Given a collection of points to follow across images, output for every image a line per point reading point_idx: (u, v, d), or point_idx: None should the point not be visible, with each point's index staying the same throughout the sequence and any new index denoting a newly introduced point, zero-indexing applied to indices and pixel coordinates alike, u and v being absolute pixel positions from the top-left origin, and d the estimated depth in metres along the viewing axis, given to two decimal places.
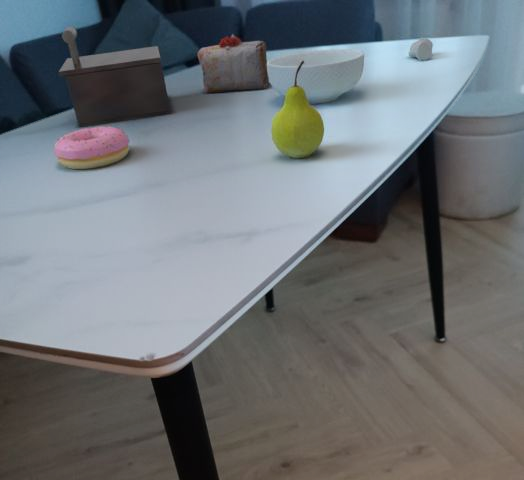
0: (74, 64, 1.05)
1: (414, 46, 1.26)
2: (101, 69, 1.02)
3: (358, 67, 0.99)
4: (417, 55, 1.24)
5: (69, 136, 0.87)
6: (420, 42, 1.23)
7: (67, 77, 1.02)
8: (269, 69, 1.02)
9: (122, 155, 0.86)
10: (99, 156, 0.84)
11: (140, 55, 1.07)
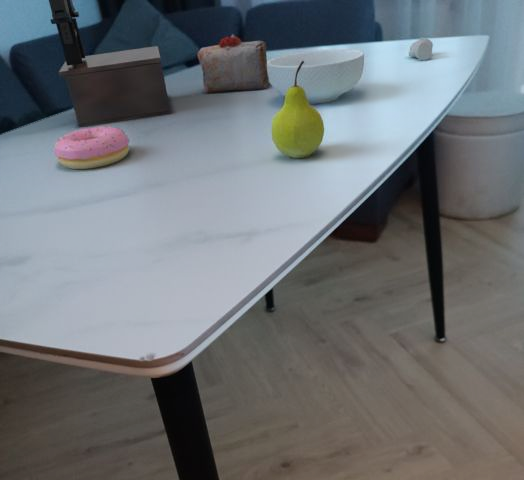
0: None
1: (414, 46, 1.26)
2: (101, 69, 1.02)
3: (358, 67, 0.99)
4: (417, 55, 1.24)
5: (69, 136, 0.87)
6: (420, 42, 1.23)
7: (67, 77, 1.02)
8: (269, 69, 1.02)
9: (122, 155, 0.86)
10: (99, 156, 0.84)
11: (140, 55, 1.07)
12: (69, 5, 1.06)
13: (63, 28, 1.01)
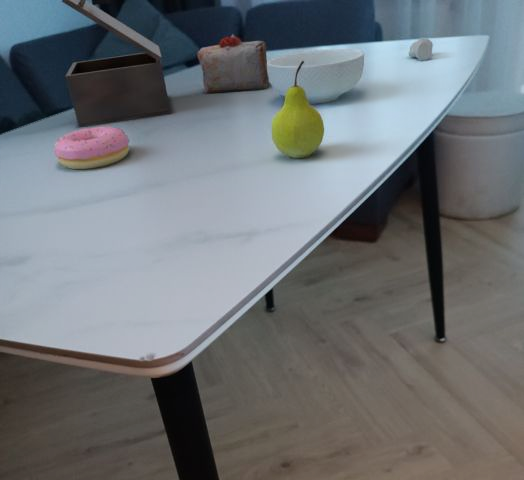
0: (80, 2, 1.01)
1: (414, 46, 1.26)
2: (104, 26, 0.99)
3: (358, 67, 0.99)
4: (417, 55, 1.24)
5: (69, 136, 0.87)
6: (420, 42, 1.23)
7: (67, 77, 1.02)
8: (269, 69, 1.02)
9: (122, 155, 0.86)
10: (99, 156, 0.84)
11: (143, 42, 1.06)
12: None
13: None
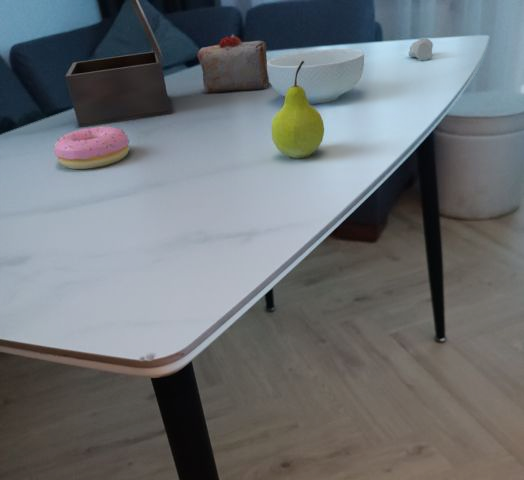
0: None
1: (414, 46, 1.26)
2: None
3: (358, 67, 0.99)
4: (417, 55, 1.24)
5: (69, 136, 0.87)
6: (420, 42, 1.23)
7: (67, 77, 1.02)
8: (269, 69, 1.02)
9: (122, 155, 0.86)
10: (99, 156, 0.84)
11: (152, 34, 1.06)
12: None
13: None
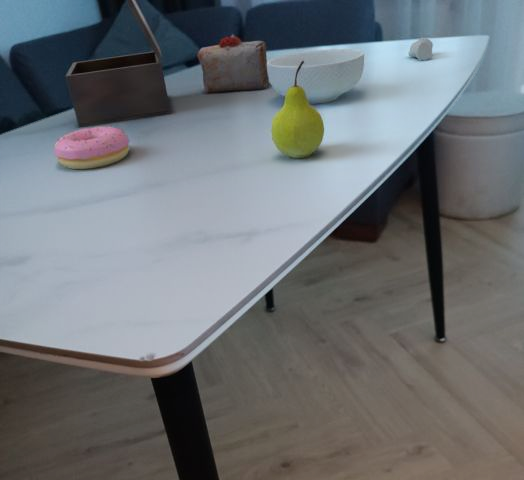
0: None
1: (414, 46, 1.26)
2: None
3: (358, 67, 0.99)
4: (417, 55, 1.24)
5: (69, 136, 0.87)
6: (420, 42, 1.23)
7: (67, 77, 1.02)
8: (269, 69, 1.02)
9: (122, 155, 0.86)
10: (99, 156, 0.84)
11: None
12: None
13: None
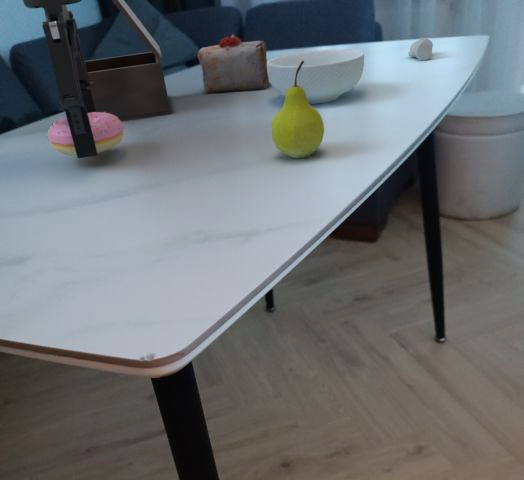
0: None
1: (414, 46, 1.26)
2: (117, 5, 0.98)
3: (358, 67, 0.99)
4: (417, 55, 1.24)
5: (63, 121, 0.86)
6: (420, 42, 1.23)
7: None
8: (269, 69, 1.02)
9: (116, 141, 0.85)
10: None
11: (148, 36, 1.06)
12: (84, 77, 0.88)
13: (74, 115, 0.78)
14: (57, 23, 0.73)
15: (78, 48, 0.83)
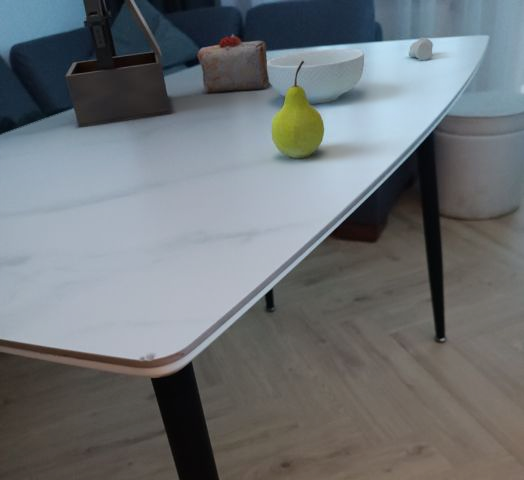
0: None
1: (414, 46, 1.26)
2: None
3: (358, 67, 0.99)
4: (417, 55, 1.24)
5: None
6: (420, 42, 1.23)
7: (67, 77, 1.02)
8: (269, 69, 1.02)
9: None
10: None
11: None
12: (103, 8, 1.09)
13: (96, 31, 0.99)
14: None
15: None
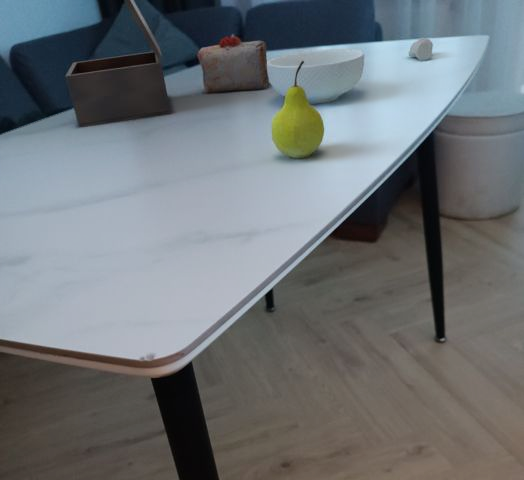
0: None
1: (414, 46, 1.26)
2: None
3: (358, 67, 0.99)
4: (417, 55, 1.24)
5: None
6: (420, 42, 1.23)
7: (67, 77, 1.02)
8: (269, 69, 1.02)
9: None
10: None
11: None
12: None
13: None
14: None
15: None
